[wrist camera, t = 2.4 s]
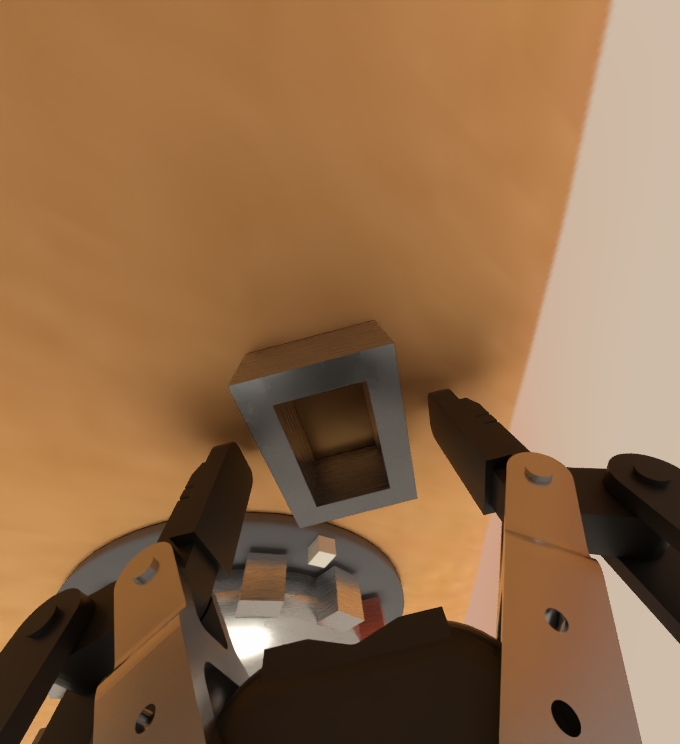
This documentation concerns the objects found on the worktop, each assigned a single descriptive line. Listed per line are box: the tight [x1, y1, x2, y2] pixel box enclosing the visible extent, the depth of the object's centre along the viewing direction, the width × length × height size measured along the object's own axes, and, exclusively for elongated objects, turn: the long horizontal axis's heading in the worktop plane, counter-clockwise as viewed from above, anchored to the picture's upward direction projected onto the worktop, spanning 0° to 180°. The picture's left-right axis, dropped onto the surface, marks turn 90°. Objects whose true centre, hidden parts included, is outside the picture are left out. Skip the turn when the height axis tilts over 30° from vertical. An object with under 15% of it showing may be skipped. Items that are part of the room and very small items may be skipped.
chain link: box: [228, 320, 417, 528], centre depth 10 cm, size 7×5×2 cm
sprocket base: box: [57, 512, 404, 624], centre depth 18 cm, size 22×22×2 cm
